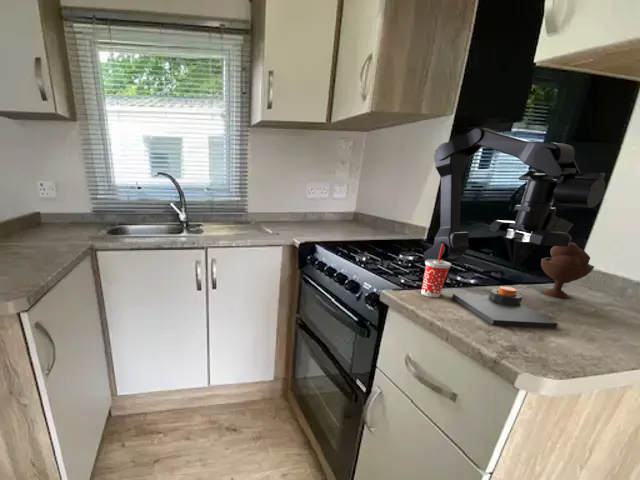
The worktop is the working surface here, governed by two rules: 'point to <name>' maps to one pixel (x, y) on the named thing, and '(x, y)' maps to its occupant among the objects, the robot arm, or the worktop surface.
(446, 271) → the beverage cup
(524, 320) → the scale
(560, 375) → the worktop surface
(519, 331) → the worktop surface
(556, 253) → the ice cream bowl
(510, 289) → the button
